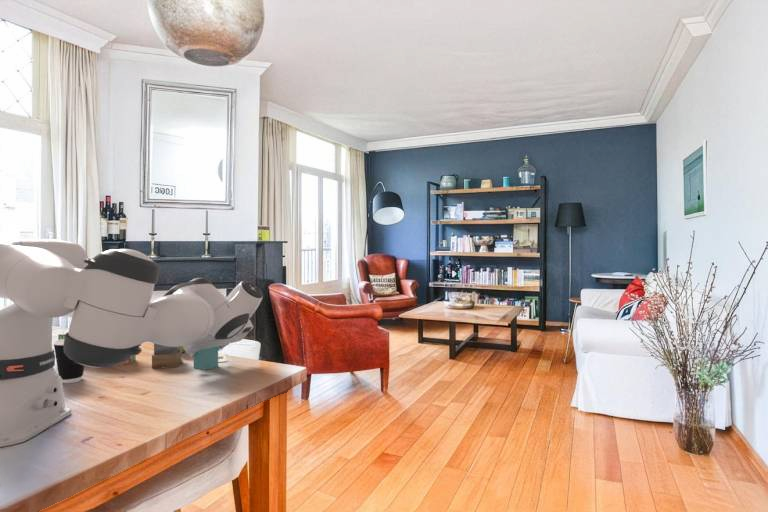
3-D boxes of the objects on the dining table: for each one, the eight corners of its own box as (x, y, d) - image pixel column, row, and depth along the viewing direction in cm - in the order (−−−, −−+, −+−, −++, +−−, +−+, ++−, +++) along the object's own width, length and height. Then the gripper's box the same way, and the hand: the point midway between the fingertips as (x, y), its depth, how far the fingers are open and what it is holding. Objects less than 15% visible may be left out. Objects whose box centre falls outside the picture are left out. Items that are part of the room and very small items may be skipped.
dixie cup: (86, 382, 122) (86, 342, 122) (50, 386, 118) (50, 345, 118) (90, 374, 129) (89, 336, 129) (56, 378, 125) (55, 339, 125)
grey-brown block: (177, 367, 137) (176, 341, 137) (151, 368, 135) (151, 342, 135) (181, 361, 144) (181, 336, 144) (157, 362, 142) (157, 337, 142)
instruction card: (227, 361, 144) (227, 360, 144) (200, 364, 140) (200, 363, 140) (225, 354, 153) (225, 353, 153) (199, 356, 150) (199, 355, 150)
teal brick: (218, 366, 138) (218, 340, 138) (204, 370, 134) (204, 343, 134) (207, 363, 141) (207, 338, 141) (193, 367, 137) (193, 341, 136)
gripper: (200, 338, 122) (178, 368, 128) (257, 326, 140) (236, 353, 145) (190, 320, 124) (169, 350, 130) (247, 311, 142) (227, 337, 147)
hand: (205, 352), depth 138 cm, fingers open, 8 cm apart
